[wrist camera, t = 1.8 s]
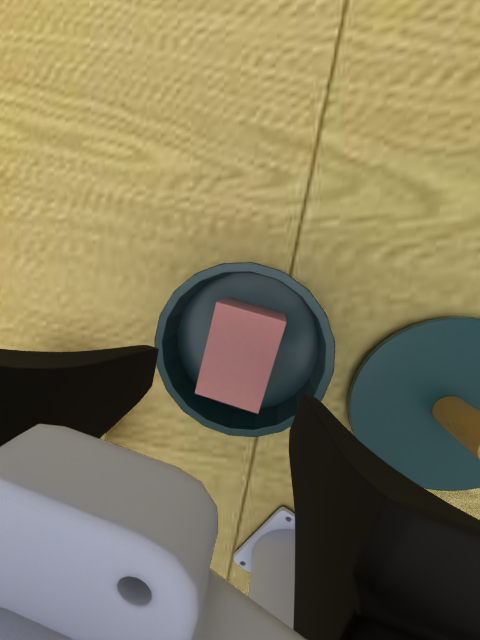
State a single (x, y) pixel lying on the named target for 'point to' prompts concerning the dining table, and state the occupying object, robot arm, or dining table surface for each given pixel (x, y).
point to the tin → (291, 360)
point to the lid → (423, 403)
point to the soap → (240, 353)
